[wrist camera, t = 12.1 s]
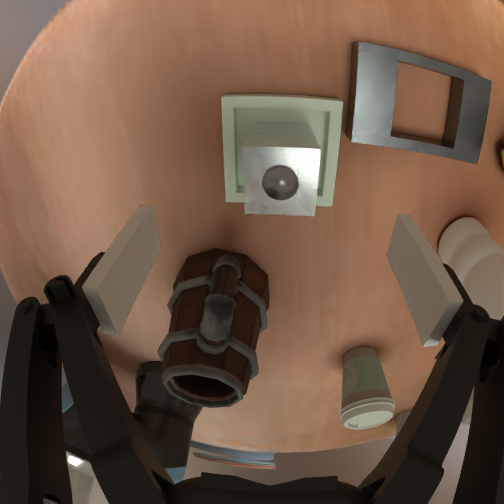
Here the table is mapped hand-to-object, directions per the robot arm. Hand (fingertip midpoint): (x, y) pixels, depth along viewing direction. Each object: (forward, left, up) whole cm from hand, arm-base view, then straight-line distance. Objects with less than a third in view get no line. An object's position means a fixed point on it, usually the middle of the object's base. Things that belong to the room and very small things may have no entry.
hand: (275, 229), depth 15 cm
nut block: (0, 0, -13) cm, 13 cm away
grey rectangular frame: (+13, +6, -14) cm, 20 cm away
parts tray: (0, 0, -14) cm, 14 cm away
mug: (-6, -16, -14) cm, 22 cm away
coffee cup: (+15, -33, -14) cm, 39 cm away
